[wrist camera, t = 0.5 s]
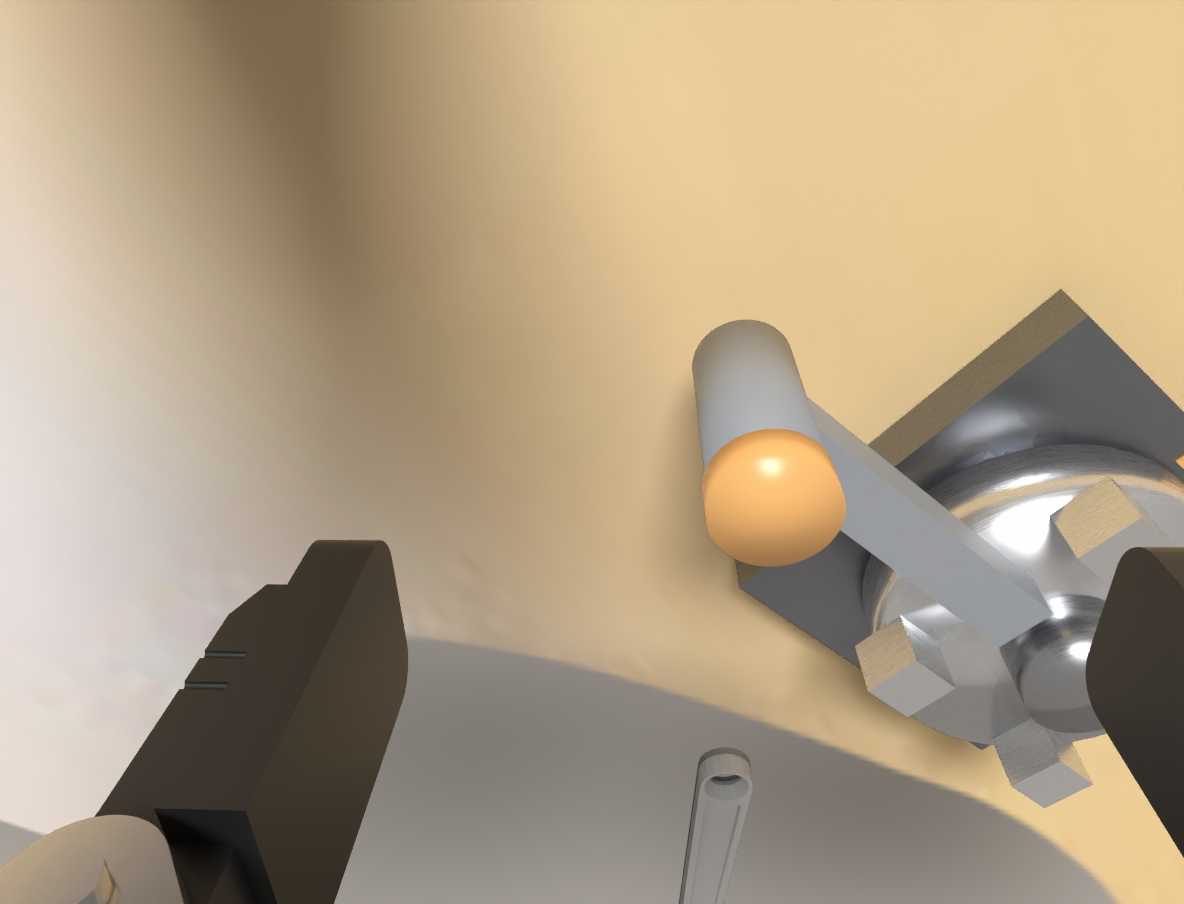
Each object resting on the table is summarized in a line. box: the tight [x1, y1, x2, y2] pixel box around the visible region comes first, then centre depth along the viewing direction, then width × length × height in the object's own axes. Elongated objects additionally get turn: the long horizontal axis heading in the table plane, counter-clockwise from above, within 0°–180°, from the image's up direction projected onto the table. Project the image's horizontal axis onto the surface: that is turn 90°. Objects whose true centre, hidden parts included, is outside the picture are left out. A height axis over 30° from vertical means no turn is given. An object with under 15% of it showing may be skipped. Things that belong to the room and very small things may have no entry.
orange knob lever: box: [692, 320, 1184, 808], centre depth 26 cm, size 23×12×8 cm, turn 51°
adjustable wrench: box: [679, 747, 753, 904], centre depth 49 cm, size 25×6×2 cm, turn 173°
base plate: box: [735, 289, 1184, 750], centre depth 32 cm, size 15×15×2 cm
